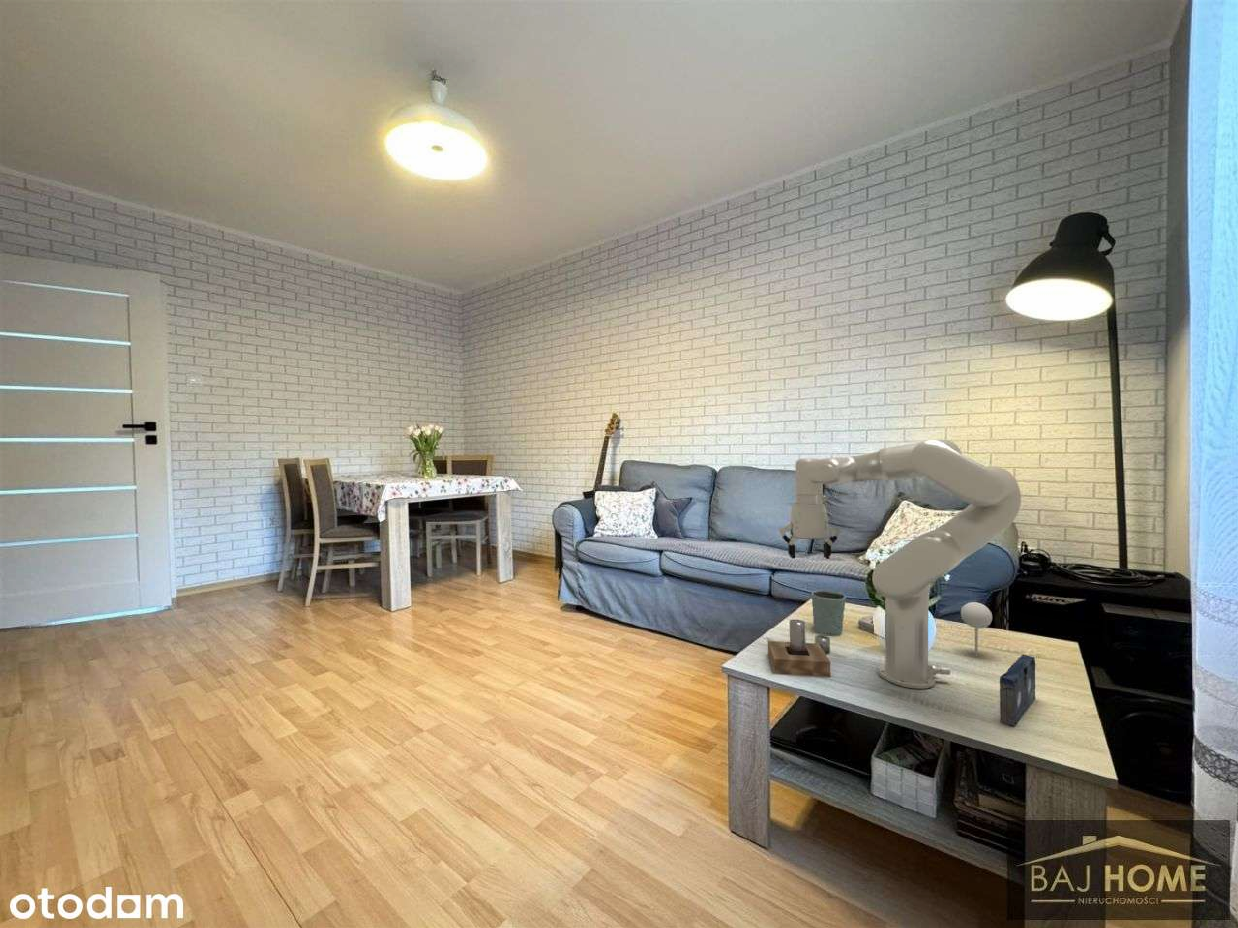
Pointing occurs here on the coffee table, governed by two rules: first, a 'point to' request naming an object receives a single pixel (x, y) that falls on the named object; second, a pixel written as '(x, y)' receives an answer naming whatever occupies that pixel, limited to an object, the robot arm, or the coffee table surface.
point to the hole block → (798, 660)
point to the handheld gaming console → (866, 624)
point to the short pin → (823, 643)
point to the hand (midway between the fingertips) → (809, 557)
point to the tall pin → (797, 637)
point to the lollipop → (976, 618)
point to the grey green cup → (828, 612)
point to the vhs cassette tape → (1017, 690)
